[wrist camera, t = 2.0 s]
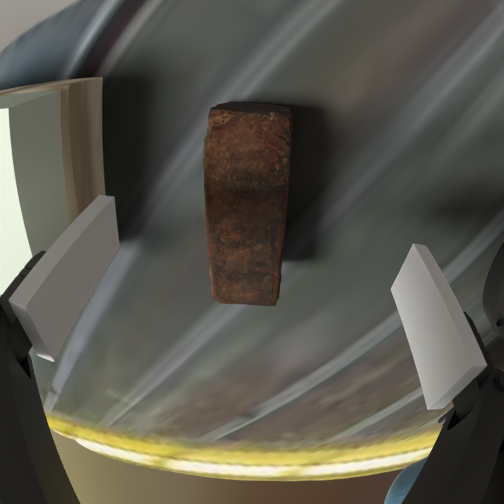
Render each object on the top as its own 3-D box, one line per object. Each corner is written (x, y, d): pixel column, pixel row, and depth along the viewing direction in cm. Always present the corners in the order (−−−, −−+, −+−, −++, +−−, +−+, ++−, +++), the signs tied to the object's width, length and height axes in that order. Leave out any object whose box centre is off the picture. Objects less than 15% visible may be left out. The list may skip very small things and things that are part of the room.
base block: (106, 76, 15) (68, 84, 12) (113, 239, 22) (89, 272, 19) (-11, 92, 15) (-47, 106, 12) (8, 220, 22) (-18, 245, 19)
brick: (280, 261, 21) (279, 310, 18) (223, 258, 22) (210, 305, 18) (292, 102, 15) (296, 116, 12) (219, 100, 16) (198, 113, 12)
